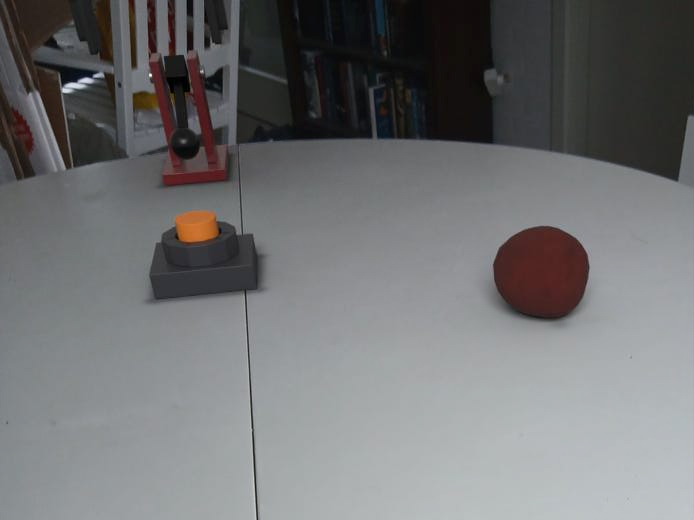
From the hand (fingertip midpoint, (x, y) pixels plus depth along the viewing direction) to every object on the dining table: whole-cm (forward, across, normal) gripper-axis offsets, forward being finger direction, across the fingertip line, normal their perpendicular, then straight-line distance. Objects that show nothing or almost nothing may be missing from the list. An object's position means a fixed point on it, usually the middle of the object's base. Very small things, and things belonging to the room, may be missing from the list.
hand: (157, 46), depth 80 cm
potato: (+19, -28, +17) cm, 38 cm away
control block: (+18, 0, +2) cm, 18 cm away
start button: (+15, 0, +2) cm, 15 cm away
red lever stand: (+18, +2, -33) cm, 37 cm away
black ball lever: (+12, +2, -30) cm, 32 cm away
